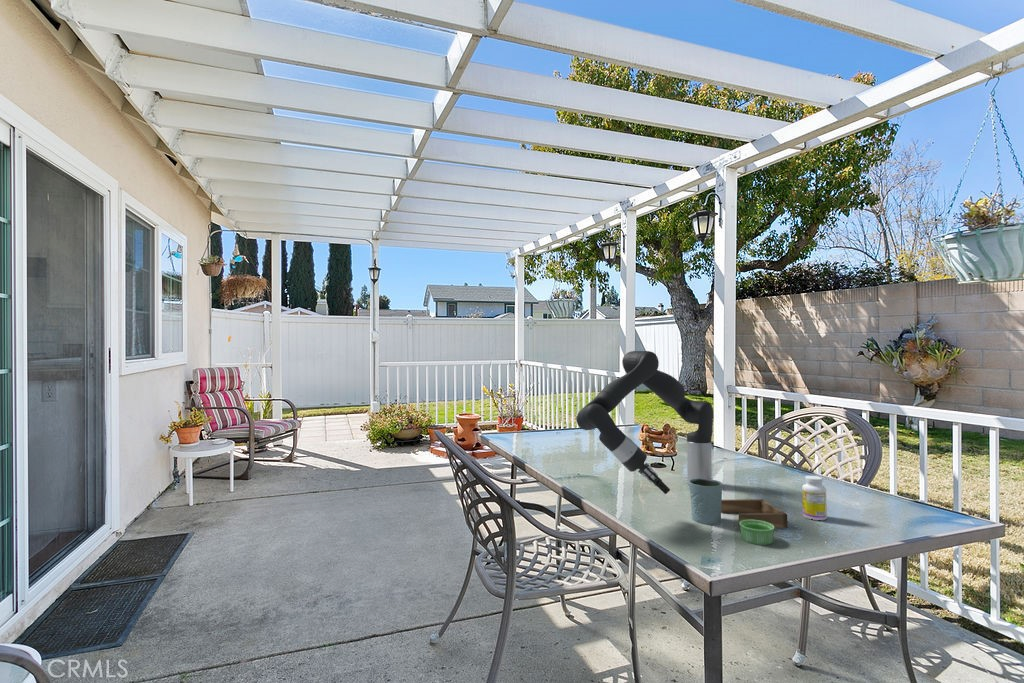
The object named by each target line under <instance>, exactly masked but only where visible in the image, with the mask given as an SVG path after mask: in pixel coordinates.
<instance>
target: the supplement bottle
mask: <svg viewBox="0 0 1024 683" xmlns="http://www.w3.org/2000/svg"><path fill="white" fill-rule="evenodd" d="M804 480H805V483H804V484H803V485H802V487H801V488H802V489H801V490H802V492H801V494H802V496H801V498H802V499H801V500H802V503H801V504H802V516H803V517H804V518H805V517H806V519H808V520H811V519H813V520H812V521H818V520H821V521H825V520H826V519H827V517H828V515H827V514H828V512H827V511H828V510H827V509H828V507H827V506H828V505H827V488H826V487H825V486H824V485H822V484H823V478H822V477H821V476H817V475H805V477H804Z"/></svg>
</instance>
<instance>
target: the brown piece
mask: <svg viewBox="0 0 1024 683" xmlns="http://www.w3.org/2000/svg"><path fill="white" fill-rule="evenodd" d="M736 513H738V527H739V528H740V524H739V522H740V521H742V520H748V519H752V520H761V521H765V522H768V523H770V524H772V525H773V526H774V529H777V528H780V529H785V528H786V529H787V528H788V522H789V521H788V514H787V513H786V512H784V511H782V510H781V509H780V508H778V507H776V506H774V505H773V504H771V503H770V502H768V501H766V500H764V499H762V498H761V499H759V498H758V499H757V498H756V499H755V498H754V499H748V498H747V499H742V498H741V499H740V498H739V499H722V504H721V514H736Z"/></svg>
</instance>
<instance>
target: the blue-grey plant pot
mask: <svg viewBox="0 0 1024 683" xmlns="http://www.w3.org/2000/svg"><path fill="white" fill-rule="evenodd" d="M688 487H689V488H688V490H689V494H690V495H689V496H690V506H691V519H692V521H694V522H695V523H698V524H701V525H710V526H714V525H718V524H720V523H721V522H722V513H721V504H722V500H723V482H722V481H720V480H716V479H713V478H712V479H691V480H689V485H688Z"/></svg>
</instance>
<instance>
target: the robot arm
mask: <svg viewBox="0 0 1024 683" xmlns="http://www.w3.org/2000/svg"><path fill="white" fill-rule="evenodd" d="M659 364H660V363H659V358H658V355H657V354H656V353H655V352H653V351H651V350H632V351H628V352H626V353H625V354H624V355H623V357H622V367H623V370H624V372H625V373H626V374H624V375H622V376H620V377H618V378H616V379H614V380H612V381H611V382H609V383H608V384H607V385H605V386H604V388H603V389H601V391H599V392H598V393H597V395H596V396H595V397H594V398H593V399H592V400H591V401H589V402H588V403H587V404H586V405H585V406H583V407H582V408H581V409H580V410H579V411H578V413H577V415H576V424H577V426H578V427H579V428H580V429H582V430H583V431H591V430H593V429H595V428H597V430H598V431H599V436H598V439H599V441H600V442H601V444H602V445H603V446H604V447H606V448H607V449H608V451H609V452H610V453H612V455H613V456H614V457H615V458H616V459H617V461H618V462H619V463H621V464H622V465H623V466H624V467H625V468H626V469H627V470H628V471H629V472H632V473H633V472H636V471H637V470H638V473H639V474H640V476H642V477H643V478H645V479H647V480H646V481H648V482H650V483H653V485H654V486H655V487H657V488H658V489H659V490H661V492H663V493H664V494H665V495H667V494H668V493H669V492H670V490H671V489H670V488H669V487H668V485H666V484H665V482H663V479H661V478H660V477H659V474H658V473H657V472H656V471H655V470H654V469H653V467H652V466H651V465H650V464H649V463H647V462H646V461H647V458H648V456H647V454H646V453H645V452H644V451H643V450H642V449H641V448H640V447H639V445H637V444H636V443H635V441H633V440H632V439H630V437H628V436H627V435H626V434H625V433H624V432H623V431H622V430H621V429H620V428H618V427H617V425H616V423H615V422H614V420H613V418H612V417H611V415H610V413H611V412H612V411H614V409H615V408H617V407H618V405H619V404H620V403H621V402H622V401H623V400H624V398H626V397H627V396H628V395H629V394H630V393H631V392H632V391H634V390H635V389H637V388H638V387H639V386H641V385H643V386H644V387H646V388H647V389H649V390H650V391H651V392H652V393H653V394H655V395H656V396H657V397H658V398H659V399H660V400H662V401H663V402H664V403H666V404H667V405H668V406H670V407H671V408H672V409H673V410H674V411H675V412H676V413H677V414H678V415H679V416H680V417H681V419H682V420H683V421H685V422H686V423H688V424H692V425H697V426H698V427H697V430H695V431H691V432H688V433H687V434H686V461H687V462H686V463H687V464H686V471H687V472H686V476H687V478H686V479H687V480H686V481H687V485H688V486H689V480H691V479H712V480H713V464H712V462H713V453H712V451H713V450H712V437H713V426H714V423H713V422H714V410H713V406H712V404H711V403H710V401H709V402H708V401H705V400H704V401H703V400H691V399H689V398H687V397H686V390H685V387H684V385H683V384H682V383H681V382H679V380H677V379H676V377H674V376H673V375H670V374H669V373H666V372H665V371H664V372H663V371H661V370H658V369H659Z"/></svg>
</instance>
